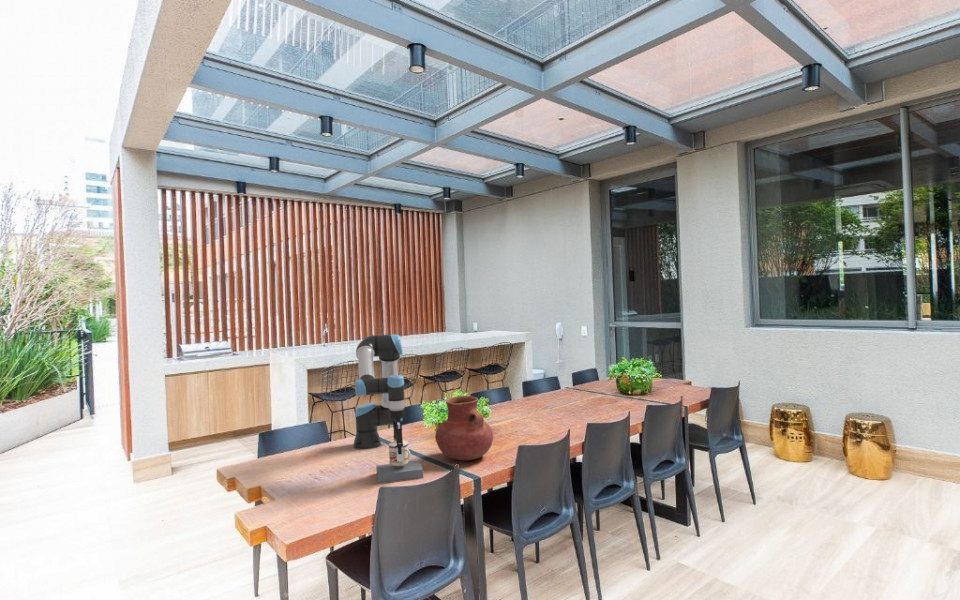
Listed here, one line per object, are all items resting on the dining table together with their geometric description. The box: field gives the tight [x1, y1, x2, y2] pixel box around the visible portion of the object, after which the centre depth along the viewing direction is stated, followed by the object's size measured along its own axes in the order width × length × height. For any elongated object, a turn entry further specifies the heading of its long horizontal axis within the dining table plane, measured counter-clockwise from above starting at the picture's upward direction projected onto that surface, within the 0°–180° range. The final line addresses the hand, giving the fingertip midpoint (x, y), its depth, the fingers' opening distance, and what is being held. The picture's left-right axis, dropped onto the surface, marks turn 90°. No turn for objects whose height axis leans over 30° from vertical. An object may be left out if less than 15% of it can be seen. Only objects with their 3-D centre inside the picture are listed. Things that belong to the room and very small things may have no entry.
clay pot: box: [435, 395, 494, 461], centre depth 255 cm, size 30×29×30 cm
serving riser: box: [375, 459, 424, 485], centre depth 231 cm, size 14×20×4 cm
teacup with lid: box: [388, 439, 411, 466], centre depth 231 cm, size 12×9×12 cm
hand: (398, 457), depth 232 cm, fingers closed on teacup with lid, 9 cm apart
